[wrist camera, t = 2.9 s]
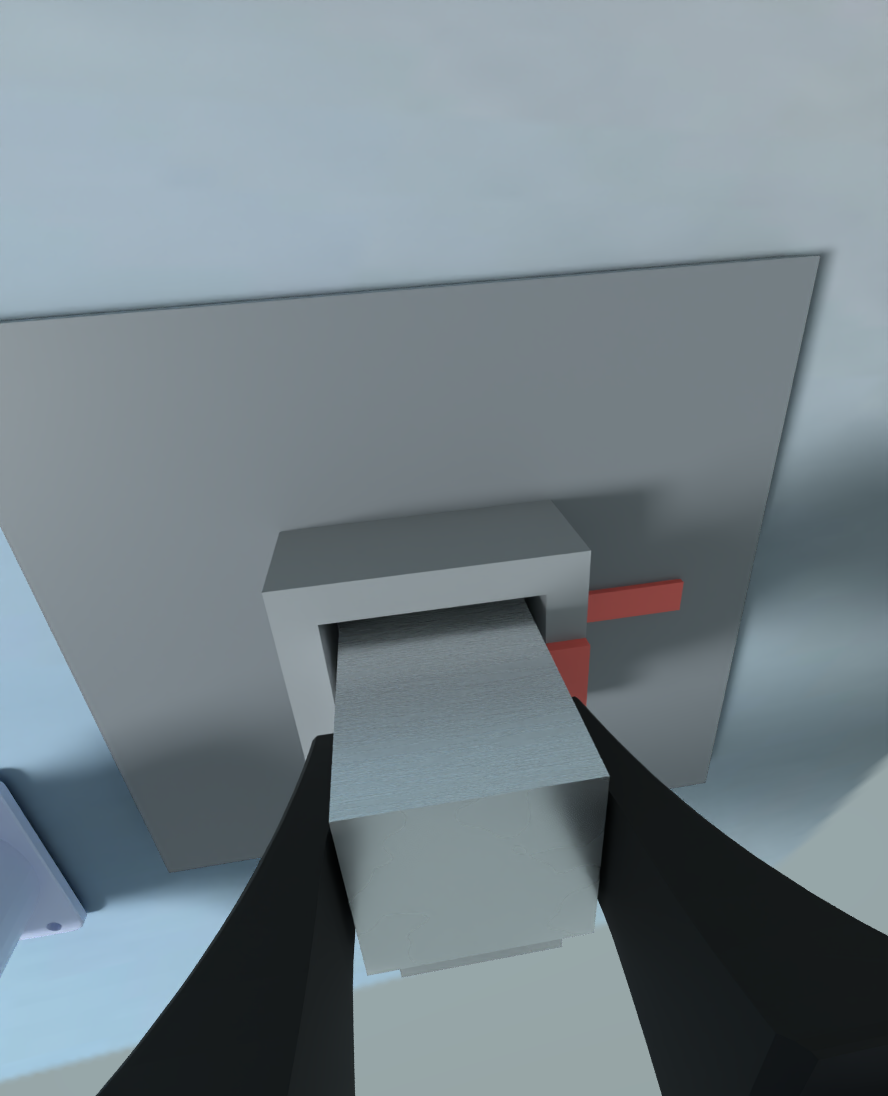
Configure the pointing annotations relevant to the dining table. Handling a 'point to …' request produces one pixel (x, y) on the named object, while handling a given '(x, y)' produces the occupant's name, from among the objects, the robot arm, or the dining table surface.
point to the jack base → (392, 506)
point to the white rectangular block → (461, 790)
